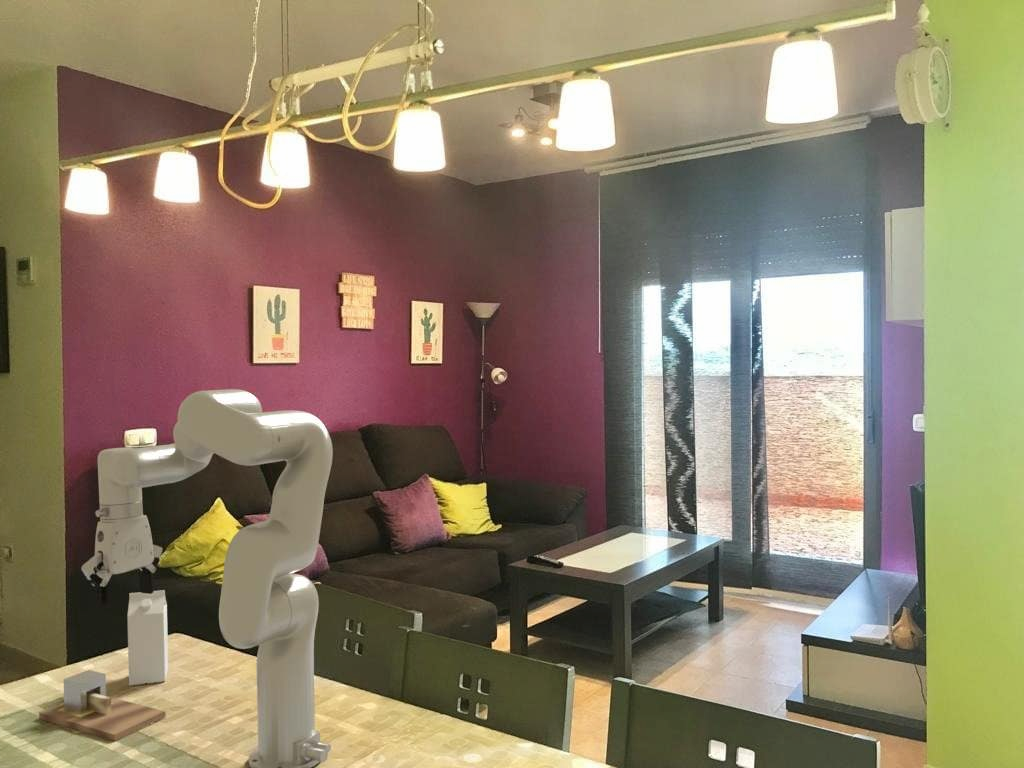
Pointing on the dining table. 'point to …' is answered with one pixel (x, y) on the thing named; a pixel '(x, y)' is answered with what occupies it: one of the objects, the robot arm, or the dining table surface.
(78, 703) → the notched grey block
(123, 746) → the dining table surface
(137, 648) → the milk carton
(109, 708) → the rail board
